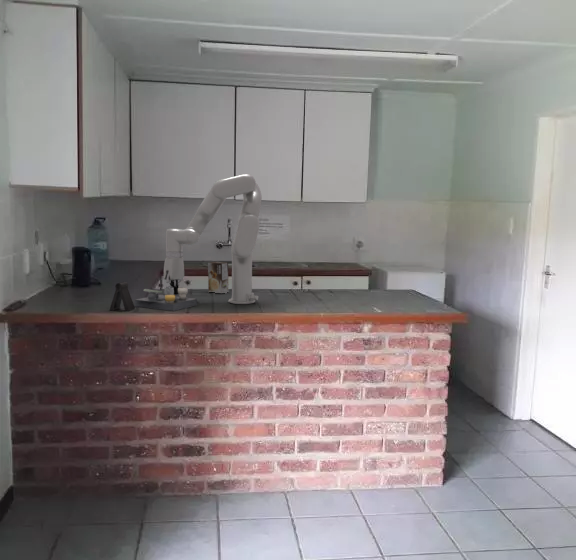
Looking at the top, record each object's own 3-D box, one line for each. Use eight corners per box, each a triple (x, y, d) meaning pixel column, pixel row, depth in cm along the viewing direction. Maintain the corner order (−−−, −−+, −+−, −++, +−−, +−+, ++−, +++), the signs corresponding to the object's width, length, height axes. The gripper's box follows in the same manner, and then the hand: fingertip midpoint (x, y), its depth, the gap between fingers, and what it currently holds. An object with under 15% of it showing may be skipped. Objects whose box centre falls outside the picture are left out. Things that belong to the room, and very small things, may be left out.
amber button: (177, 306, 265) (177, 295, 264) (170, 308, 261) (170, 296, 260) (169, 305, 267) (169, 294, 266) (163, 307, 263) (162, 295, 262)
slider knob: (173, 296, 274) (173, 286, 273) (169, 297, 272) (169, 286, 271) (168, 296, 276) (168, 285, 275) (164, 297, 273) (164, 286, 272)
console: (196, 305, 273) (196, 295, 272) (173, 310, 258) (173, 301, 257) (159, 300, 283) (159, 291, 283) (134, 306, 268) (134, 296, 268)
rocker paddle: (163, 295, 276) (164, 291, 276) (150, 294, 268) (151, 289, 268) (155, 294, 278) (156, 290, 279) (142, 293, 270) (143, 288, 271)
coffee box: (229, 292, 311) (229, 262, 308) (222, 294, 305) (222, 263, 303) (214, 291, 315) (214, 261, 313) (207, 293, 309) (207, 262, 307)
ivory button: (189, 299, 272) (189, 288, 272) (183, 300, 268) (183, 289, 268) (181, 298, 274) (181, 287, 274) (175, 299, 270) (175, 288, 270)
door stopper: (109, 310, 258) (108, 283, 256) (116, 307, 264) (115, 281, 262) (128, 311, 256) (128, 283, 254) (134, 308, 262) (134, 282, 260)
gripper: (178, 253, 283) (178, 291, 285) (157, 256, 270) (157, 295, 272) (190, 254, 279) (191, 293, 282) (170, 257, 266) (170, 297, 269)
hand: (174, 294), depth 277 cm, fingers closed
